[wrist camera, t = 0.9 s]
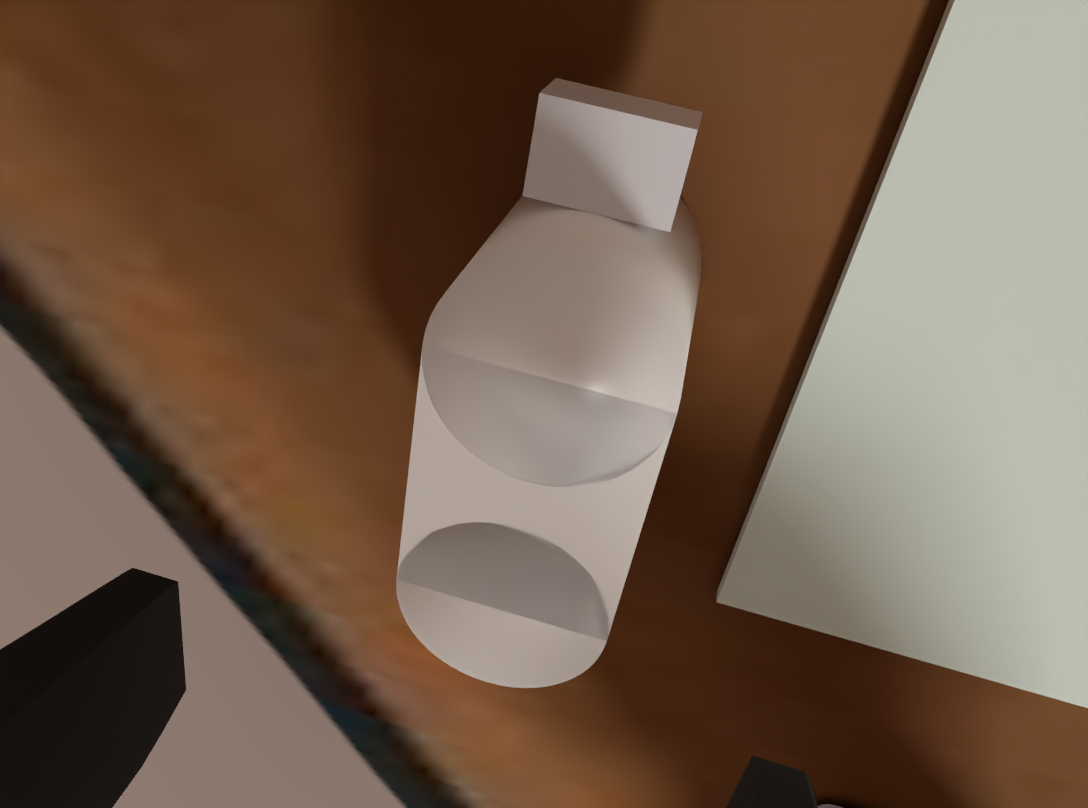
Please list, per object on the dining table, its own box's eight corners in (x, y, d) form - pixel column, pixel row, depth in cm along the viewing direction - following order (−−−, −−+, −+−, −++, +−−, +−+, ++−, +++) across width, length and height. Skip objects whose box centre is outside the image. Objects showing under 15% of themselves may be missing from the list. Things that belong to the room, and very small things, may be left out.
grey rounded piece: (621, 545, 21) (584, 711, 17) (463, 501, 21) (388, 652, 17) (754, 98, 15) (749, 179, 11) (534, 48, 15) (448, 107, 11)
